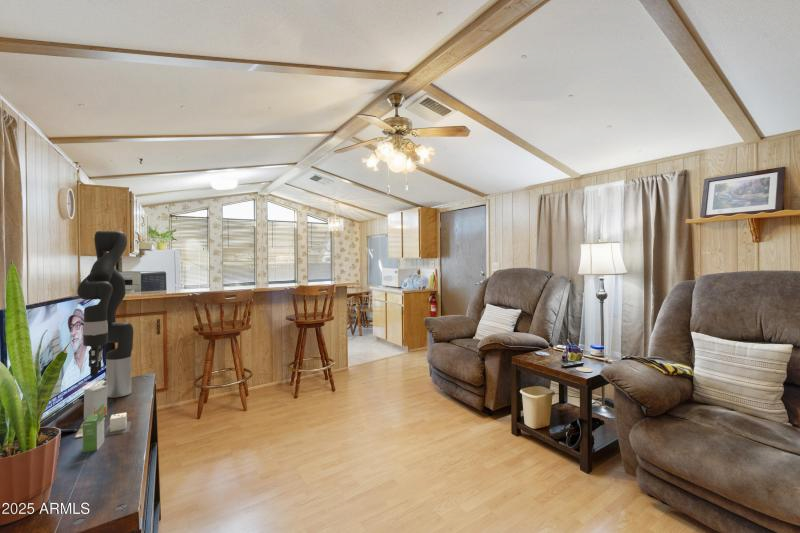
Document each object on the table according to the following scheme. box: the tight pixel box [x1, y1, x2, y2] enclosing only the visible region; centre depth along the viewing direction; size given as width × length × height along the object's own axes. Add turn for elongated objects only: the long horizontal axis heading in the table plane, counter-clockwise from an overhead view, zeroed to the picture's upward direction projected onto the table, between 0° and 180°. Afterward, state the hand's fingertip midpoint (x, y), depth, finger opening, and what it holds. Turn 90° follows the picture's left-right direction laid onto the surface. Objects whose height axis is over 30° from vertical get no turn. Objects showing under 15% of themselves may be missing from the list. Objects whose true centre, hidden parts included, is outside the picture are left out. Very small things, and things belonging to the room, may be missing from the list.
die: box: [109, 412, 128, 432], centre depth 136 cm, size 4×4×5 cm
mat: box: [104, 420, 132, 437], centre depth 135 cm, size 10×7×1 cm
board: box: [73, 417, 107, 440], centre depth 135 cm, size 15×7×1 cm, turn 33°
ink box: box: [82, 403, 105, 453], centre depth 122 cm, size 7×4×13 cm, turn 23°
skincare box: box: [83, 384, 108, 421], centre depth 145 cm, size 6×4×12 cm
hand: (95, 373), depth 145 cm, fingers open, 8 cm apart
